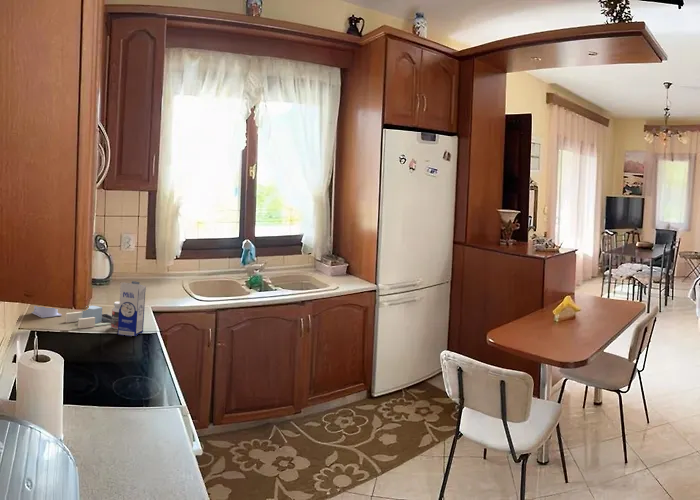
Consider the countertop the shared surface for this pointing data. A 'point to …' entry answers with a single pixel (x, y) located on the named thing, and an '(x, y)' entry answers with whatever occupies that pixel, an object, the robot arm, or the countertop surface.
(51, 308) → the robot arm
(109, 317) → the pit tray
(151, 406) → the countertop surface
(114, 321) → the pill bottle
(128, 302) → the milk carton
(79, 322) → the channel
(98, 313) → the block
